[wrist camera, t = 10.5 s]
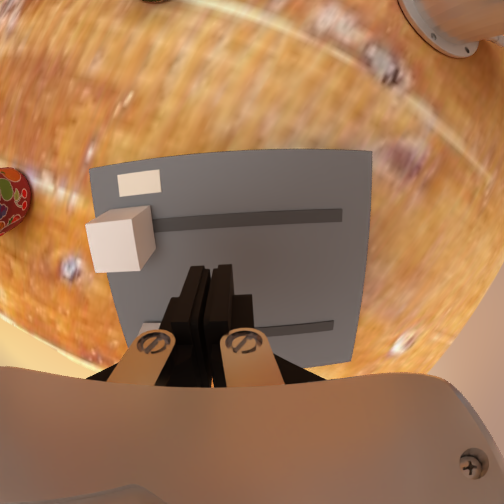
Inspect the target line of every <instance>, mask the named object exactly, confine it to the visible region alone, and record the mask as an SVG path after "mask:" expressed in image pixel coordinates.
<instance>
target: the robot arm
mask: <svg viewBox="0 0 504 504" xmlns="http://www.w3.org/2000/svg"><path fill="white" fill-rule="evenodd" d="M398 1H399V4H400V7H401V9H402V11H403V12H404V14H405V16H406V18H407V19H408V21H409V22H410V24H411V25H412V26H413V27H414V29H415V30H416V31H417V32H418V34H419V35H420V36H421V37H422V38H423V39H424V40H425V41H427V42H428V43H429V44H430V45H431V46H433V47H434V48H435V49H437V50H438V51H440V52H441V53H443V54H446V55H448V56H450V57H454V58H464V57H469V56H471V55H473V54H474V53H475V52H476V50H477V48H478V45H479V41H480V40H484V39H485V40H486V41H490V40H491V41H492V42H493V43H495V44H497V45H498V46H500V47H504V36H503V35H504V0H398ZM212 378H213V384H214V388H211V382H212ZM0 504H504V458H503V456H502V454H501V452H500V450H499V449H498V447H497V445H496V443H495V441H494V439H493V437H492V436H491V434H490V432H489V431H488V429H487V428H486V426H485V425H484V423H483V421H482V420H481V418H480V417H479V415H478V414H477V412H476V411H475V410H474V408H473V407H472V406H471V404H470V403H469V402H468V401H467V399H466V398H465V397H464V396H463V395H462V394H461V393H460V392H459V391H458V390H457V389H456V388H455V387H454V386H453V385H452V384H451V383H449V382H448V381H446V380H444V379H442V378H439V377H437V376H432V375H427V374H420V373H408V372H400V373H380V374H369V375H363V376H356V377H348V378H340V379H331V380H326V379H324V378H322V377H320V376H317V375H315V374H313V373H311V372H309V371H307V370H305V369H303V368H301V367H299V366H297V365H295V364H293V363H291V362H289V361H287V360H285V359H283V358H281V357H279V356H278V355H276V354H274V353H273V352H272V349H271V347H270V344H269V341H268V339H267V337H266V335H265V334H264V333H262V332H261V331H259V330H256V329H255V328H254V314H253V300H252V294H242V295H235V294H234V282H233V269H232V264H222V265H218V268H213V272H212V277H211V274H210V269H205V266H204V265H202V266H191V267H190V269H189V272H188V274H187V277H186V280H185V282H184V285H183V288H182V291H181V293H180V296H179V297H171V299H170V301H169V304H168V306H167V309H166V311H165V314H164V316H163V319H162V322H161V324H160V327H159V329H158V330H150V331H147V332H144V333H142V334H140V335H139V336H137V337H136V338H135V340H134V341H133V342H132V344H131V345H130V347H129V348H128V350H127V351H126V353H125V354H124V355H123V357H122V358H121V360H120V361H119V363H117V364H115V365H113V366H111V367H109V368H107V369H105V370H103V371H101V372H99V373H97V374H94V375H93V376H90V377H88V378H86V379H81V378H74V377H68V376H62V375H56V374H51V373H46V372H41V371H35V370H29V369H24V368H18V367H8V366H7V367H0Z"/></svg>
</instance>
